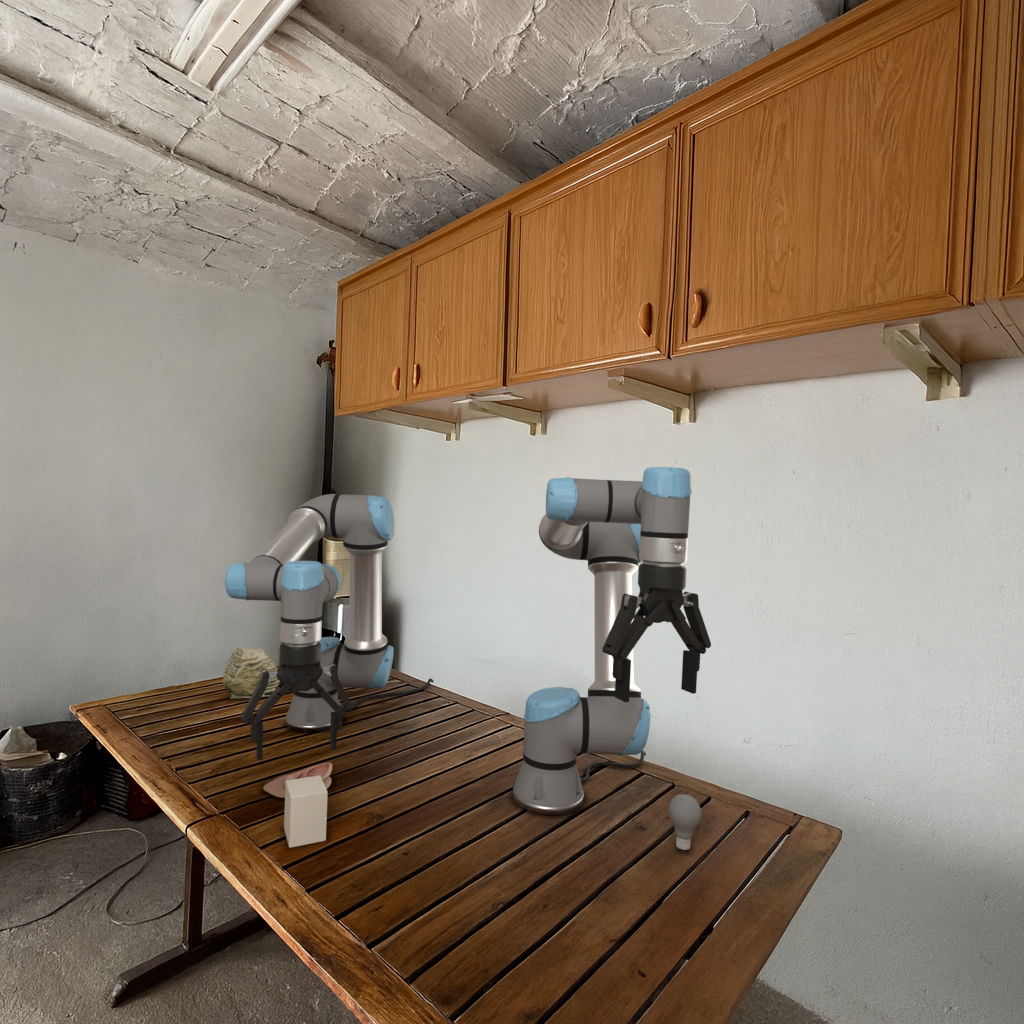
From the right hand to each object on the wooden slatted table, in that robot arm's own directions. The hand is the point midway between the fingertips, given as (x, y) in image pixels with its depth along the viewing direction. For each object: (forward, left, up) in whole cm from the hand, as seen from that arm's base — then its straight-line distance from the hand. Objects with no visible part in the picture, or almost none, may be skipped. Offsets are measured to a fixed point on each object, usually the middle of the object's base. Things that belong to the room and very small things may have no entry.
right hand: (656, 695), depth 102 cm
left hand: (+52, -42, -20) cm, 70 cm away
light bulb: (-16, -12, -34) cm, 39 cm away
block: (+50, -38, -34) cm, 72 cm away
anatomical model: (+51, -58, -34) cm, 84 cm away
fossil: (+60, -127, -34) cm, 144 cm away
